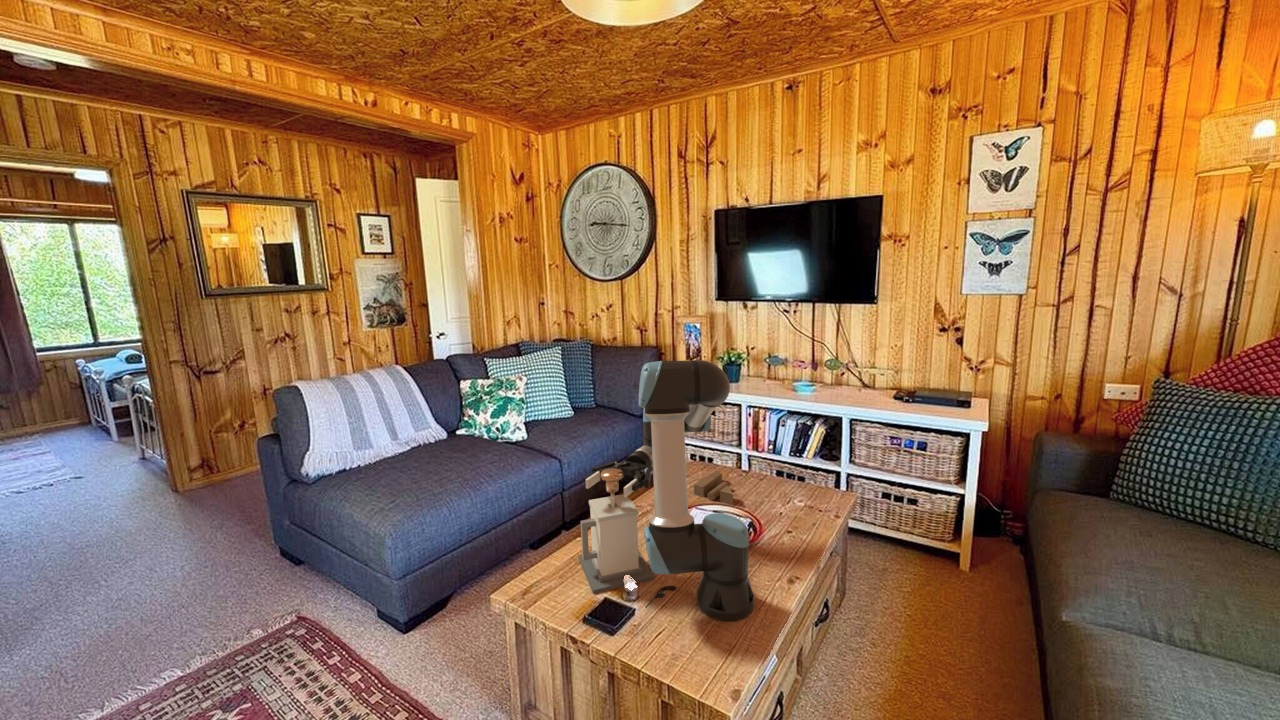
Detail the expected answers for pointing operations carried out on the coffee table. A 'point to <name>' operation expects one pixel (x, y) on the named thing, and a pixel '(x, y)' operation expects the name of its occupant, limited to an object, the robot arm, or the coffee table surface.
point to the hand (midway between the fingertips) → (605, 488)
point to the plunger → (612, 481)
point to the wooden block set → (714, 488)
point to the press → (612, 538)
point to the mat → (614, 583)
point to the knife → (662, 595)
